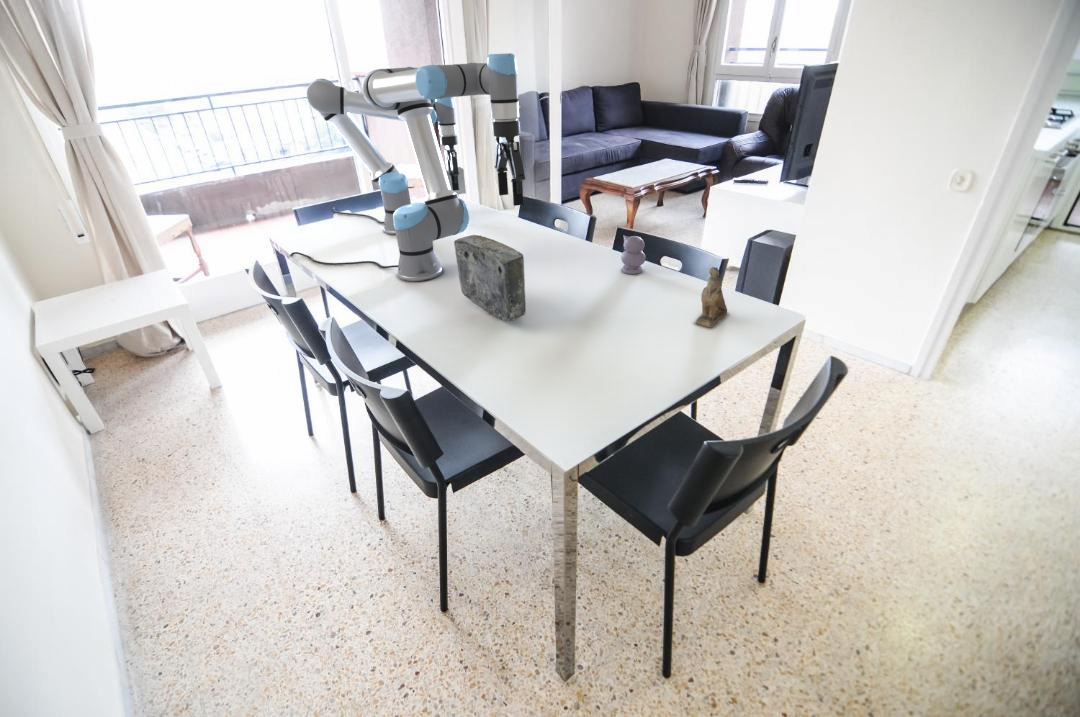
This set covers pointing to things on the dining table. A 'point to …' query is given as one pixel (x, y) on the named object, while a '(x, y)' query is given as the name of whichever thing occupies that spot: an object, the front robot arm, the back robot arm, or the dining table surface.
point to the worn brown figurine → (712, 301)
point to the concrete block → (492, 276)
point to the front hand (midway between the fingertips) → (510, 199)
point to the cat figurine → (633, 254)
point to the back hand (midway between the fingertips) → (454, 188)
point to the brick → (460, 180)
